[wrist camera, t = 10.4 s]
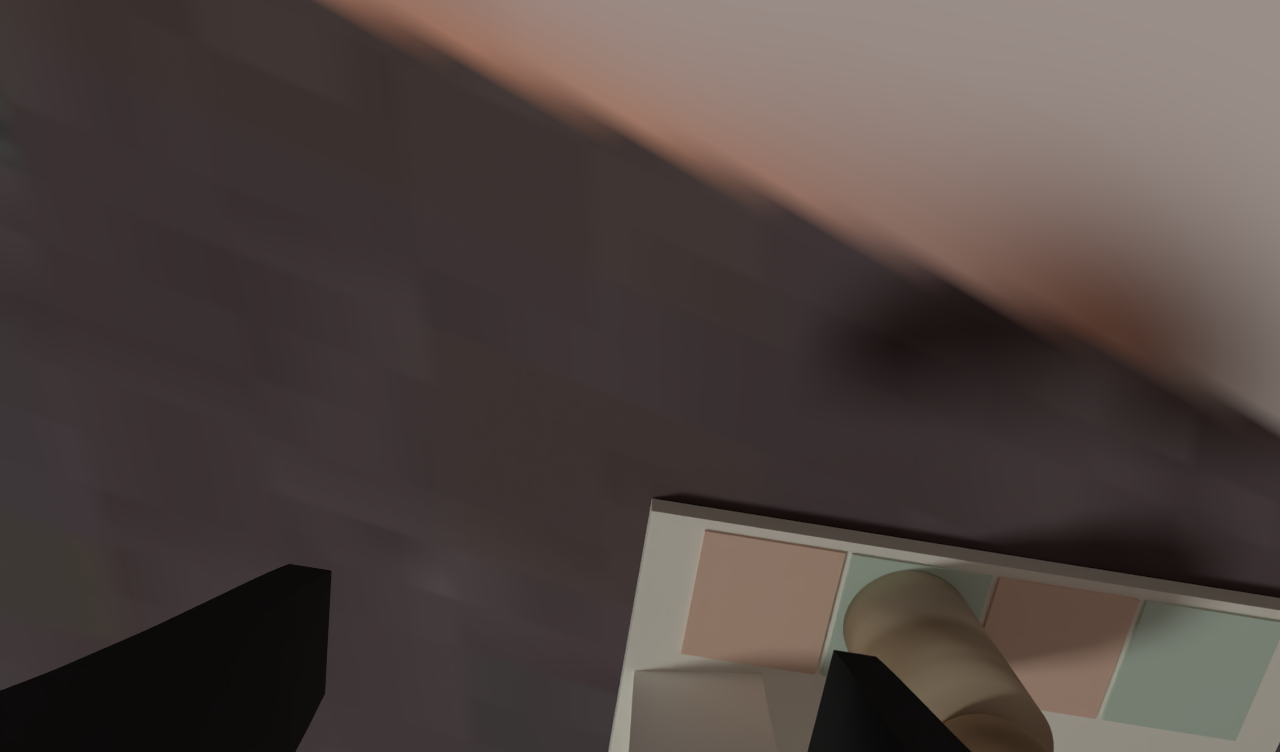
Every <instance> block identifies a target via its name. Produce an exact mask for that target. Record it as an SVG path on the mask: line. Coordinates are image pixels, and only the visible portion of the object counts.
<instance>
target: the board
mask: <svg viewBox="0 0 1280 752" xmlns="http://www.w3.org/2000/svg"><path fill="white" fill-rule="evenodd" d="M899 571H921V572H926V573H930V574H933V575H936V576H938V577H940V578H942V579H944V580H946V581H947V582H949V583H950V584H951V585H952V586H954V587H955V588H956V589H957V590H958V592H959V593H960V594H961V596H962V597H963V598H964V600H965V601H966V603H967V604H968V606H969V607H970V609H971V610H972V611H973V613H974V614H975V616H976V617H977V619H978V620H979V622H980V623H981V625H982V626H983V627H984V629H985V630H986V632H987V633H988V635H989V636H990V638H991V639H992V641H993V642H994V643H995V645H996V646H997V648H998V649H999V651H1000V652H1001V654H1002V655H1003V657H1004V658H1005V659H1006V661H1007V662H1008V664H1009V665H1010V667H1011V668H1012V670H1013V671H1014V672H1015V674H1016V675H1017V677H1018V678H1019V680H1020V681H1021V683H1022V684H1023V686H1024V687H1025V688H1026V690H1027V691H1028V693H1029V694H1030V696H1031V697H1032V699H1033V700H1034V702H1035V703H1036V704H1037V706H1038V707H1039V709H1040V710H1041V712H1042V713H1043V715H1044V716H1045V718H1046V720H1047V721H1048V723H1049V725H1050V728H1051V731H1052V735H1053V741H1054V752H1275V751H1276V749H1277V747H1278V745H1279V742H1280V598H1276V597H1270V596H1263V595H1257V594H1251V593H1245V592H1238V591H1232V590H1226V589H1219V588H1213V587H1207V586H1200V585H1194V584H1188V583H1182V582H1175V581H1169V580H1163V579H1156V578H1150V577H1144V576H1137V575H1131V574H1125V573H1118V572H1112V571H1106V570H1100V569H1093V568H1087V567H1081V566H1074V565H1068V564H1062V563H1055V562H1049V561H1043V560H1037V559H1030V558H1024V557H1018V556H1011V555H1005V554H999V553H992V552H986V551H980V550H974V549H967V548H961V547H955V546H948V545H942V544H936V543H929V542H923V541H917V540H911V539H904V538H898V537H892V536H885V535H879V534H873V533H866V532H860V531H854V530H848V529H841V528H835V527H829V526H822V525H816V524H810V523H803V522H797V521H791V520H785V519H778V518H772V517H766V516H759V515H753V514H747V513H740V512H734V511H728V510H722V509H715V508H709V507H703V506H696V505H690V504H684V503H677V502H671V501H665V500H658V499H652V501H651V507H650V513H649V519H648V524H647V530H646V536H645V542H644V547H643V553H642V559H641V565H640V571H639V576H638V582H637V588H636V594H635V599H634V605H633V611H632V617H631V622H630V628H629V634H628V640H627V645H626V651H625V657H624V663H623V669H622V674H621V680H620V686H619V692H618V697H617V703H616V709H615V715H614V720H613V726H612V732H611V738H610V743H609V750H608V752H629V741H630V726H631V711H632V695H633V680H634V671H671V672H722V673H761V674H762V679H763V684H764V689H765V694H766V699H767V704H768V709H769V714H770V720H771V725H772V730H773V735H774V740H775V745H776V750H777V752H808V748H809V744H810V740H811V736H812V732H813V728H814V724H815V720H816V717H817V713H818V709H819V705H820V701H821V697H822V693H823V689H824V685H825V682H826V678H827V674H828V670H829V666H830V662H831V658H832V654H833V650H838V651H845V652H848V649H847V647H846V644H845V640H844V636H843V621H844V617H845V613H846V611H847V608H848V606H849V604H850V602H851V601H852V599H853V598H854V597H855V595H856V594H857V593H858V592H859V591H860V590H861V589H862V588H863V587H865V586H866V585H867V584H868V583H870V582H872V581H873V580H875V579H877V578H879V577H881V576H884V575H887V574H889V573H894V572H899Z"/></svg>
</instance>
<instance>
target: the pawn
mask: <svg viewBox="0 0 1280 752" xmlns="http://www.w3.org/2000/svg"><path fill="white" fill-rule="evenodd" d="M843 636H844V640H845V644H846V647H847V649H848V652H851V653H857V654H864V655H870V656H876V657H877V658H878V659H880V660H881V661H882V662H883V663H884V664H885V665H886V666H887V667H888V668H889V669H890V670H891V671H892V672H893V673H894V674H895V675H896V676H897V677H898V678H899V679H900V680H901V681H902V682H903V683H904V684H905V685H906V686H907V687H908V688H909V689H910V690H911V691H912V692H913V693H914V694H915V695H916V696H917V697H918V698H919V699H920V700H921V701H922V702H923V703H924V704H925V705H926V706H927V707H928V708H929V709H930V710H931V711H932V712H933V713H934V714H935V715H936V716H937V717H938V718H939V719H940V720H941V722H942V723H943V724H944V725H945V726H946V727H947V728H948V729H949V730H950V731H951V732H952V733H953V734H954V735H955V736H956V737H957V738H958V739H959V740H960V741H961V742H962V743H963V744H964V745H965V746H966V747H967V748H968V749H969V750H970V751H971V752H1054V741H1053V735H1052V731H1051V728H1050V725H1049V723H1048V721H1047V720H1046V718H1045V716H1044V715H1043V713H1042V712H1041V710H1040V709H1039V707H1038V706H1037V704H1036V703H1035V702H1034V700H1033V699H1032V697H1031V696H1030V694H1029V693H1028V691H1027V690H1026V688H1025V687H1024V686H1023V684H1022V683H1021V681H1020V680H1019V678H1018V677H1017V675H1016V674H1015V672H1014V671H1013V670H1012V668H1011V667H1010V665H1009V664H1008V662H1007V661H1006V659H1005V658H1004V657H1003V655H1002V654H1001V652H1000V651H999V649H998V648H997V646H996V645H995V643H994V642H993V641H992V639H991V638H990V636H989V635H988V633H987V632H986V630H985V629H984V627H983V626H982V625H981V623H980V622H979V620H978V619H977V617H976V616H975V614H974V613H973V611H972V610H971V609H970V607H969V606H968V604H967V603H966V601H965V600H964V598H963V597H962V596H961V594H960V593H959V592H958V590H957V589H956V588H955V587H954V586H952V585H951V584H950V583H949V582H947V581H946V580H944V579H942V578H940V577H938V576H936V575H933V574H930V573H926V572H921V571H899V572H894V573H889V574H887V575H884V576H881V577H879V578H877V579H875V580H873V581H872V582H870V583H868V584H867V585H866V586H865V587H863V588H862V589H861V590H860V591H859V592H858V593H857V594H856V595H855V597H854V598H853V599H852V601H851V602H850V604H849V606H848V608H847V611H846V613H845V617H844V621H843Z"/></svg>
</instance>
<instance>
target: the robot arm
mask: <svg viewBox="0 0 1280 752" xmlns="http://www.w3.org/2000/svg"><path fill="white" fill-rule="evenodd" d="M330 589H331V571H330V570H324V569H318V568H311V567H305V566H299V565H292V564H288V565H285V566H283V567H280V568H278V569H275V570H273V571H271V572H268V573H266V574H264V575H262V576H259V577H257V578H255V579H253V580H251V581H249V582H247V583H245V584H242V585H240V586H238V587H236V588H234V589H232V590H230V591H228V592H226V593H224V594H222V595H220V596H217V597H215V598H213V599H211V600H209V601H207V602H205V603H203V604H201V605H199V606H197V607H194V608H192V609H190V610H188V611H186V612H184V613H182V614H180V615H177V616H175V617H173V618H171V619H169V620H167V621H165V622H163V623H161V624H158V625H156V626H154V627H152V628H150V629H148V630H146V631H143V632H141V633H139V634H136V635H134V636H132V637H129V638H127V639H125V640H123V641H120V642H118V643H116V644H113V645H111V646H109V647H106V648H104V649H102V650H99V651H97V652H95V653H92V654H90V655H88V656H86V657H83V658H81V659H79V660H76V661H74V662H72V663H69V664H67V665H65V666H62V667H60V668H58V669H55V670H53V671H50V672H48V673H45V674H43V675H40V676H38V677H35V678H32V679H30V680H27V681H25V682H22V683H19V684H17V685H14V686H12V687H9V688H6V689H4V690H1V691H0V752H295V751H296V749H297V748H298V746H299V744H300V742H301V740H302V738H303V736H304V734H305V733H306V731H307V729H308V727H309V725H310V723H311V721H312V719H313V717H314V715H315V713H316V711H317V709H318V707H319V705H320V703H321V701H322V699H323V697H324V694H325V683H326V664H327V645H328V627H329V608H330ZM808 752H971V751H970V750H969V749H968V748H967V747H966V746H965V745H964V744H963V743H962V742H961V741H960V740H959V739H958V738H957V737H956V736H955V735H954V734H953V733H952V732H951V731H950V730H949V729H948V728H947V727H946V726H945V725H944V724H943V723H942V722H941V720H940V719H939V718H938V717H937V716H936V715H935V714H934V713H933V712H932V711H931V710H930V709H929V708H928V707H927V706H926V705H925V704H924V703H923V702H922V701H921V700H920V699H919V698H918V697H917V696H916V695H915V694H914V693H913V692H912V691H911V690H910V689H909V688H908V687H907V686H906V685H905V684H904V683H903V682H902V681H901V680H900V679H899V678H898V677H897V676H896V675H895V674H894V673H893V672H892V671H891V670H890V669H889V668H888V667H887V666H886V665H885V664H884V663H883V662H882V661H881V660H880V659H878V658H877V657H876V656H870V655H864V654H857V653H851V652H845V651H838V650H833V654H832V658H831V662H830V666H829V670H828V674H827V678H826V682H825V685H824V689H823V693H822V697H821V701H820V705H819V709H818V713H817V717H816V720H815V724H814V728H813V732H812V736H811V740H810V744H809V748H808Z"/></svg>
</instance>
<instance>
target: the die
mask: <svg viewBox="0 0 1280 752" xmlns="http://www.w3.org/2000/svg"><path fill="white" fill-rule="evenodd" d="M629 752H777V750H776V745H775V740H774V735H773V730H772V725H771V720H770V714H769V709H768V704H767V699H766V694H765V689H764V684H763V679H762V674H761V673H722V672H671V671H634V680H633V695H632V711H631V726H630V741H629Z"/></svg>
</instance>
